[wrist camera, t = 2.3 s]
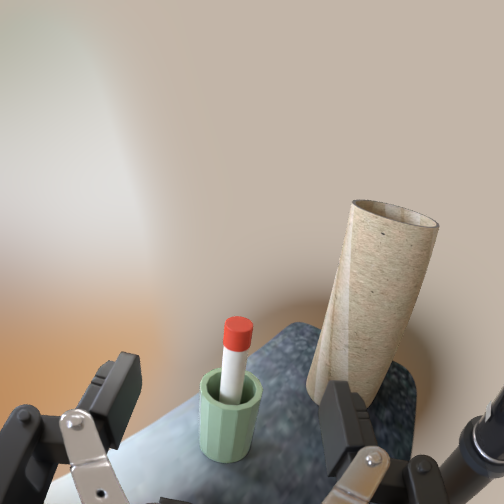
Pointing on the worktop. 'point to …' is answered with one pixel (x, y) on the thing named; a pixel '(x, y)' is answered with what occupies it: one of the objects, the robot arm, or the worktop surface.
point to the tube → (371, 296)
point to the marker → (234, 359)
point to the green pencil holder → (227, 418)
